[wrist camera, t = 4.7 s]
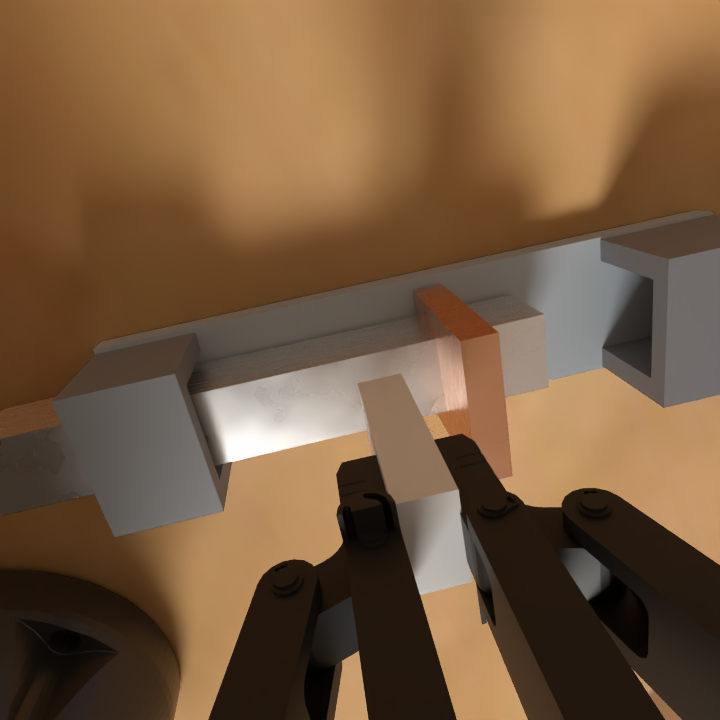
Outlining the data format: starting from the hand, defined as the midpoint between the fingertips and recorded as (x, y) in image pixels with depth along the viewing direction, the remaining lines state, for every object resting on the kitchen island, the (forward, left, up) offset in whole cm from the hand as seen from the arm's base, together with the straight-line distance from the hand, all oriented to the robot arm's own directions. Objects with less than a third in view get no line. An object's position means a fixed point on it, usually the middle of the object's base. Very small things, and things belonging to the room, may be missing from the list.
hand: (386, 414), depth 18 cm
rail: (+3, 0, -6) cm, 7 cm away
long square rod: (-4, 0, -5) cm, 6 cm away
